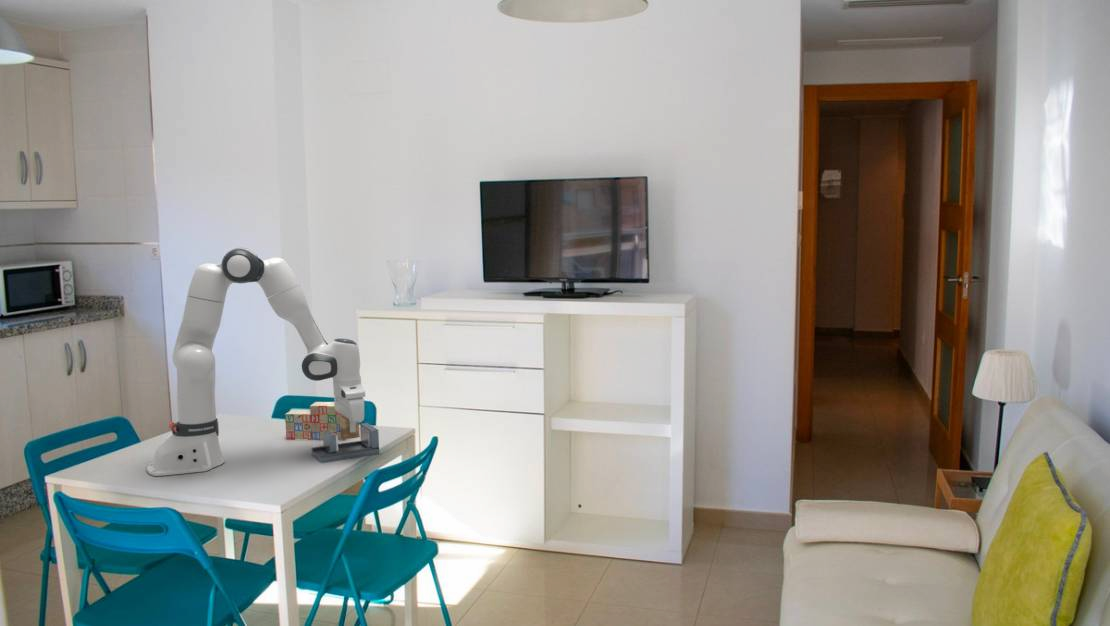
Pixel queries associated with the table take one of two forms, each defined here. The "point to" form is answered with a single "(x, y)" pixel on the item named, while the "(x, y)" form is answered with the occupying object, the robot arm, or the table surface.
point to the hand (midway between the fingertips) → (349, 430)
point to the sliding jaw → (330, 441)
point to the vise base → (352, 446)
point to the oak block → (345, 429)
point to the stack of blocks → (313, 422)
